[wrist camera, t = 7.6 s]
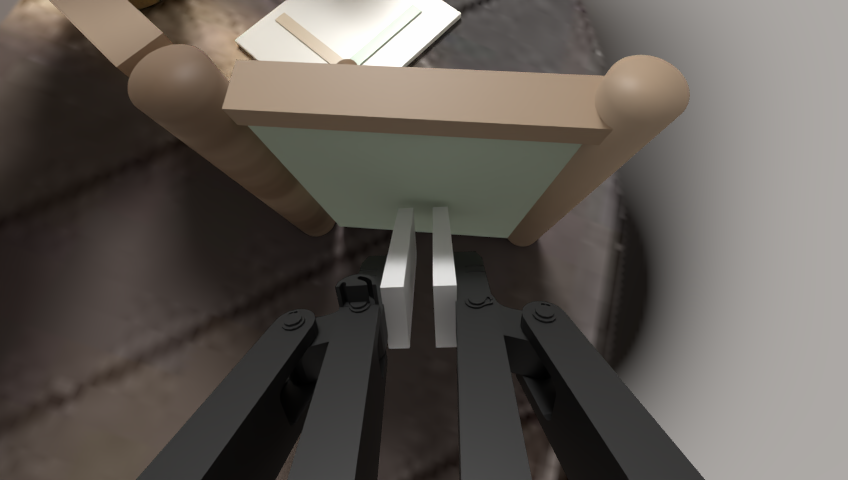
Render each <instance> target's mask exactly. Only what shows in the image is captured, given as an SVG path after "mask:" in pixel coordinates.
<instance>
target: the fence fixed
mask: <svg viewBox="0 0 848 480" xmlns="http://www.w3.org/2000/svg"><path fill="white" fill-rule="evenodd" d="M49 1H50V2H51V3H52V4H53V5H54V6H55V7H56V8H57V9H58V10H59V11H60V12H61V13H62V14H63V15H64V16H65V17H66V18H67V19H68V20H69V21H70V22H71V23H72V24H73V25H74V26H75V27H76V28H77V29H78V30H79V31H80V32H82V33H83V34H84V35H85V36H86V37H87V38H88V39H89V40H90V41H91V42H92V43H93V44H94V45H95V46H96V47H97V48H98V49H99V50H100V51H101V52H102V53H103V54H104V55H105V56H106V57H107V58H108V59H109V60H110V61H111V62H112V63H113V64H114V65H115V66H116V67H117V68H118V69H119V70H120V71H121V72H123V73H124V74H125V75H126V76H128V77H129V80H128V95H129V98H130V100H131V102H132V103H133V104H134V105H135V106H136V107H137V108H138V109H139V110H141V111H142V112H143V113H145V114H146V115H147V116H149V117H150V118H151V119H153V120H154V121H155V122H157V123H158V124H159V125H161V126H162V127H163V128H165V129H166V130H167V131H169V132H170V133H171V134H173V135H174V136H175V137H177V138H178V139H179V140H181V141H182V142H183V143H185V144H186V145H187V146H189V147H190V148H191V149H193V150H194V151H196V152H197V153H198V154H200V155H201V156H202V157H204V158H205V159H206V160H208V161H209V162H210V163H212V164H213V165H214V166H216V167H217V168H218V169H220V170H221V171H222V172H224V173H225V174H226V175H228V176H229V177H230V178H232V179H233V180H234V181H236V182H237V183H238V184H240V185H241V186H242V187H244V188H245V189H246V190H248V191H249V192H250V193H252V194H253V195H254V196H256V197H257V198H258V199H260V200H261V201H263V202H264V203H265V204H267V205H268V206H269V207H271V208H272V209H273V210H275V211H276V212H277V213H279V214H280V215H281V216H283V217H284V218H285V219H287V220H288V221H289V222H291V223H292V224H293V225H295V226H296V227H297V228H299V229H300V230H301V231H303V232H304V233H305V234H307V235H309V236H314V237H317V236H322V235H325V234H326V233H328V232H329V231H330V230H331V229H332V228H333V226H334V224H335V221H334V220H333V218H332V217H331V216H330V215H329V214H328V213H327V212H326V211H325V210H324V209H323V207H322V206H321V205H320V204H319V203H318V202H317V201H316V200H315V199H314V198H313V197H312V195H311V194H310V193H309V192H308V191H307V190H306V189H305V188H304V187H303V186H302V185H301V183H300V182H299V181H298V180H297V179H296V178H295V177H294V176H293V175H292V174H291V172H290V171H289V170H288V169H287V168H286V167H285V166H284V165H283V164H282V163H281V162H280V160H279V159H278V158H277V157H276V156H275V155H274V154H273V153H272V152H271V151H270V150H269V148H268V147H267V146H266V145H265V144H264V143H263V142H262V141H261V140H260V139H259V137H258V136H257V135H256V134H255V133H254V132H253V131H252V130H251V129H250V128H249V127H248V126H246V125H237V124H236V123H235V122H234V121H233V120H232V119H231V118H230V117H229V116H228V115H227V113H226V112H225V111H224V110H223V109H222V107H223V103H224V100H225V96H226V93H227V89H228V86H229V81H228V80H227V79H226V78H225V76H224V75H223V74H222V73H221V72H220V70H219V69H218V68H217V67H216V65H215V64H214V63H213V62H212V61H211V59H210V58H209V57H208V56H207V55H206V54H205V53H204V52H203V51H202V50H200V49H199V48H197V47H194V46H191V45H186V44H173V43H172V42H171V41H170V40H169V39H168V37H167V36H166V35H165V34H164V33H163V32H162V31H161V30H160V29H159V28H157V27H156V26H155V25H154V24H153V23H152V22H151V21H150V20H149V19H148V18H146V17H145V16H144V15H143V14H142V13H141V12H140V11H139V10H138V9H137V8H135V7H134V6H133V5H132V4H131V3H130V2H129V1H128V0H49Z"/></svg>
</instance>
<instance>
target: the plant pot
mask: <svg viewBox="0 0 848 480" xmlns="http://www.w3.org/2000/svg"><path fill="white" fill-rule="evenodd" d="M128 1H129V2H130V3H131V4H132V5H133V6H134V7H135V8H137V9H142V8H146V7H148V6H151V5H153V4H155V3H157V2H159V1H161V0H128Z"/></svg>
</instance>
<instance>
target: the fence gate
mask: <svg viewBox="0 0 848 480" xmlns="http://www.w3.org/2000/svg"><path fill="white" fill-rule="evenodd" d="M689 97H690V93H689V87H688V84H687V81H686V79H685V78H684V76H683V75H682V73H681V72H680V71H679V70H678V69H677V68H676V67H674V66H673V65H672V64H670V63H668V62H667V61H665V60H663V59H660V58H657V57H653V56H648V55H634V56H629V57H626V58H623V59H621V60H619V61H618V62H616V63H615V64H614V65H613V66H612V67H611V68H610V69H609V71H608V72H607V74H606V75H605V76H595V75H573V74H551V73H528V72H506V71H483V70H461V69H439V68H416V67H394V66H372V65H349V64H327V63H304V62H282V61H260V60H237V59H236V61H235V65H234V68H233V72H232V75H231V79H230V82H229V86H228V89H227V93H226V96H225V100H224V103H223V107H222V109H223V110H224V111H225V112H226V113H227V115H228V116H229V117H230V118H231V119H232V120H233V121H234V122H235V123H236V124H237V125H246V126H248V127H249V128H250V129H251V130H252V131H253V132H254V133H255V134H256V135H257V136H258V137H259V139H260V140H261V141H262V142H263V143H264V144H265V145H266V146H267V147H268V148H269V150H270V151H271V152H272V153H273V154H274V155H275V156H276V157H277V158H278V159H279V160H280V162H281V163H282V164H283V165H284V166H285V167H286V168H287V169H288V170H289V171H290V172H291V174H292V175H293V176H294V177H295V178H296V179H297V180H298V181H299V182H300V183H301V185H302V186H303V187H304V188H305V189H306V190H307V191H308V192H309V193H310V194H311V195H312V197H313V198H314V199H315V200H316V201H317V202H318V203H319V204H320V205H321V206H322V207H323V209H324V210H325V211H326V212H327V213H328V214H329V215H330V216H331V217H332V218H333V220H334V221H335V222H336V223H337V224H338V225H339V226H342V227H356V228H370V229H385V230H393V229H394V225H395V220H396V216H397V212H398V209H400V208H413V210H414V224H415V232H427V233H433V207H447V206H448V213H449V222H450V230H451V234H456V235H470V236H484V237H498V238H508V240H509V241H510V242H511V243H513V244H514V245H517V246H521V247H525V246H529V245H531V244H533V243H534V242H535V241H536V240H537V239H539V238H540V237H541V236H542V235H543V234H544V233H545V232H547V231H548V230H549V229H550V228H551V227H552V226H553V225H555V224H556V223H557V222H558V221H559V220H560V219H562V218H563V217H564V216H565V215H566V214H567V213H568V212H570V211H571V210H572V209H573V208H574V207H575V206H576V205H578V204H579V203H580V202H581V201H582V200H583V199H584V198H586V197H587V196H588V195H589V194H590V193H591V192H592V191H594V190H595V189H596V188H597V187H598V186H599V185H600V184H602V183H603V182H604V181H605V180H606V179H607V178H608V177H610V176H611V175H612V174H613V173H614V172H615V171H616V170H618V169H619V168H620V167H621V166H622V165H623V164H624V163H626V162H627V161H628V160H629V159H630V158H631V157H633V156H634V154H636V153H637V152H638V151H639V150H641V149H642V148H643V147H644V146H645V145H646V144H647V143H648V142H650V141H651V140H652V139H653V138H654V137H655V136H657V135H658V134H659V133H660V132H661V131H662V130H663V129H665V128H666V127H667V126H668V125H669V124H670V123H671V122H673V121H674V120H675V119H676V118H677V117H678V116H679V115H680V114H682V112H684V110H685V109H686V107H687V105H688V102H689Z"/></svg>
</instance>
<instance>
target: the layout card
mask: <svg viewBox="0 0 848 480" xmlns="http://www.w3.org/2000/svg"><path fill="white" fill-rule="evenodd" d="M460 18H461V13H460V12H459V11H457V10H456V9H454V8H453V7H451V6H450V5H448V4H447V3H445V2H444V1H442V0H286V1H284V2H283V3H282V4H281V5H279V6H278V7H277V8H275V9H274V10H273V11H272V12H270V13H269V14H268V15H266V16H265V17H264V18H263V19H261V20H260V21H259V22H257V23H256V24H255V25H254V26H252V27H251V28H250V29H248V30H247V31H246V32H245V33H243V34H242V35H241V36H239V37H238V38H237V39H236V40H235V41H236V43H237V44H238V45H239V46H240V47H241V48H242V49H244V50H245V51H246V52H247V53H248V54H250V55H251V56H252V57H253V58H254V59H255V60H260V61H282V62H304V63H327V64H349V65H372V66H394V67H407V66H408V65H409V64H410V63H411V62H412V61H413V60H414V59H416V58H417V57H418V56H419V55H420V54H421V53H422V52H423V51H424V50H426V49H427V48H428V47H429V46H430V45H431V44H432V43H433V42H434V41H436V40H437V39H438V38H439V37H440V36H441V35H442V34H443V33H444V32H446V31H447V30H448V29H449V28H450V27H451V26H452V25H453V24H454V23H456V22H457V21H458V20H459V19H460Z"/></svg>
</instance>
